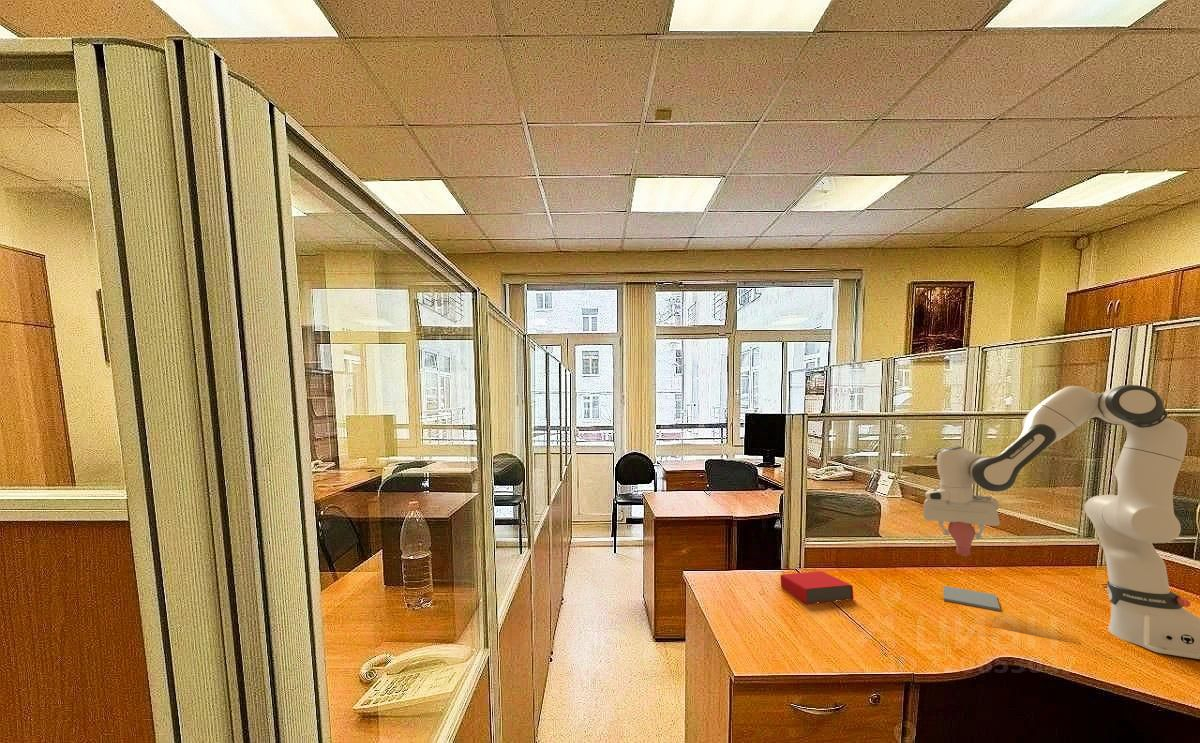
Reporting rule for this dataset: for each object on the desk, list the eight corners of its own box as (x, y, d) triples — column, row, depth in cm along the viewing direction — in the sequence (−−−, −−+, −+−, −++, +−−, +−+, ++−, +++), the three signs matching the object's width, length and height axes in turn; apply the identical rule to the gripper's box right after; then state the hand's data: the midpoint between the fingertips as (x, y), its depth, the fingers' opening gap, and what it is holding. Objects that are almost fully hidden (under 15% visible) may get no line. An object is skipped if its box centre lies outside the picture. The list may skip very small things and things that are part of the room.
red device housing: (824, 585, 161) (823, 571, 162) (853, 600, 148) (852, 584, 148) (781, 589, 158) (780, 574, 159) (806, 604, 144) (805, 588, 145)
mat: (995, 597, 148) (995, 594, 148) (1000, 611, 137) (1000, 608, 137) (943, 587, 156) (943, 585, 157) (943, 600, 146) (943, 598, 146)
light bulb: (984, 558, 144) (979, 521, 146) (963, 559, 144) (957, 521, 146) (967, 552, 151) (962, 517, 153) (946, 553, 151) (941, 517, 153)
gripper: (996, 495, 147) (1002, 538, 145) (921, 491, 159) (925, 531, 157) (998, 498, 142) (1004, 542, 140) (920, 494, 154) (925, 534, 152)
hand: (962, 536), depth 149 cm, fingers closed on light bulb, 7 cm apart
